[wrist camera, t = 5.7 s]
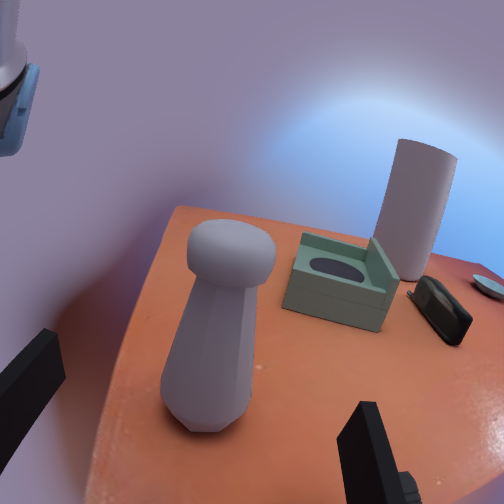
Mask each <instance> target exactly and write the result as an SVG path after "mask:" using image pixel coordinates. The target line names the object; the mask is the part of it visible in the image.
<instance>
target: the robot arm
mask: <svg viewBox="0 0 504 504" xmlns="http://www.w3.org/2000/svg"><path fill="white" fill-rule="evenodd" d="M19 6H20V0H0V157H3V156H12V155H14V154H15V153H17V152H18V151H19V149H20V148H21V145H22V143H23V139H24V135H25V131H26V127H27V123H28V118H29V114H30V110H31V106H32V101H33V97H34V94H35V89H36V85H37V81H38V77H39V71H40V70H39V66H37V65H34V64H33V63H29V64H28V65H26V60H27V51H26V48H25V46H24V45H23V44H22V43H21V42H20V41H19V40H17V39H16V29H17V20H18V13H19ZM65 379H66V376H65V371H64V367H63V362H62V357H61V351H60V346H59V340H58V334H57V333H55V332H53V331H50V330H48V329H45V328H44V329H43V330H42V331H41V332H40V333H39V334H38V335H37V336H36V337H35V338H34V339H33V340H32V341H31V342H30V343H29V344H28V345H27V346H26V347H25V348H24V349H23V350H22V351H21V352H20V353H19V354H18V355H17V356H16V357H15V358H14V359H13V360H12V361H11V363H9V365H8V366H7V367H6V368H5V369H4V370H3V371H2V372H1V373H0V475H1V473H2V472H3V470H4V468H5V467H6V465H7V463H8V462H9V460H10V459H11V457H12V456H13V454H14V452H15V451H16V449H17V448H18V446H19V445H20V443H21V441H22V440H23V439H24V437H25V435H26V434H27V433H28V431H29V430H30V428H31V427H32V425H33V424H34V422H35V421H36V419H37V418H38V416H39V415H40V414H41V412H42V411H43V409H44V408H45V406H46V405H47V404H48V402H49V401H50V399H51V398H52V397H53V395H54V394H55V392H56V391H57V390H58V388H59V387H60V386H61V384H62V383H63V381H64V380H65ZM336 440H337V445H338V451H339V457H340V463H341V469H342V475H343V482H344V488H345V495H346V501H347V504H422V502H421V497H420V494H419V493H418V488H417V484H416V481H415V480H414V478H413V477H412V476H411V474H410V473H409V472H408V471H407V472H398V470H397V467H396V463H395V460H394V457H393V453H392V450H391V447H390V444H389V441H388V437H387V434H386V431H385V428H384V425H383V422H382V419H381V416H380V413H379V410H378V407H377V404H376V402H368V401H360V402H359V404H358V406H357V407H356V409H355V411H354V412H353V414H352V415H351V417H350V419H349V420H348V422H347V423H346V425H345V427H344V428H343V430H342V431H341V433H340V434H339V436H338V437H337V439H336Z"/></svg>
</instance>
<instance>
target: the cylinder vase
mask: <svg viewBox="0 0 504 504" xmlns="http://www.w3.org/2000/svg"><path fill="white" fill-rule="evenodd" d="M456 164H457V158H456V157H455V156H453V155H451V154H449V153H447V152H445V151H443V150H441V149H438V148H436V147H433V146H430V145H427V144H424V143H420V142H417V141H412V140H407V139H399V140H398V144H397V148H396V153H395V157H394V162H393V166H392V170H391V174H390V178H389V182H388V186H387V189H386V193H385V197H384V200H383V204H382V207H381V211H380V214H379V218H378V221H377V225H376V228H375V231H374V235H373V238H376V240H377V241H378V243H379V244H380V246H381V248H382V249H383V251H384V253H385V254H386V256H387V258H388V259H389V261H390V263H391V264H392V266H393V268H394V269H395V271H396V273H397V275H398V276H399V278H400V279H402V280H406V281H417V280H419V279H420V278H421V277H422V275H423V273H424V270H425V268H426V265H427V262H428V259H429V257H430V254H431V251H432V248H433V245H434V242H435V239H436V236H437V233H438V230H439V227H440V224H441V220H442V217H443V214H444V210H445V207H446V203H447V199H448V196H449V192H450V189H451V185H452V181H453V177H454V173H455V168H456Z"/></svg>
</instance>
